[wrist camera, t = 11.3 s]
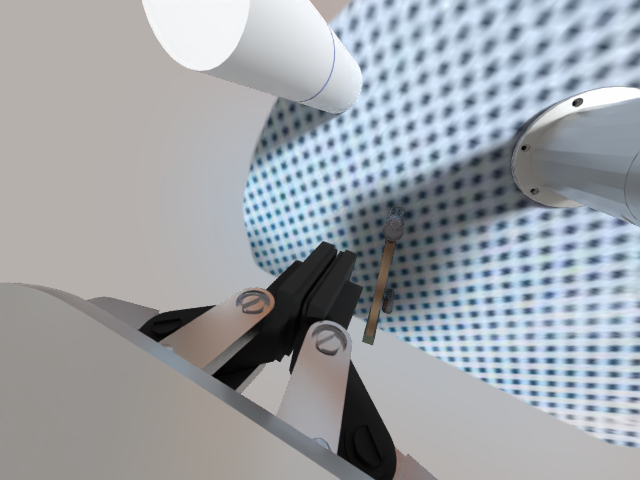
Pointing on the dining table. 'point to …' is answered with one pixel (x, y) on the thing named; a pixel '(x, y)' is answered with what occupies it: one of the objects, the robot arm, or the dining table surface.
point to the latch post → (388, 301)
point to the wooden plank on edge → (379, 293)
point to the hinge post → (394, 224)
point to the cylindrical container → (260, 47)
